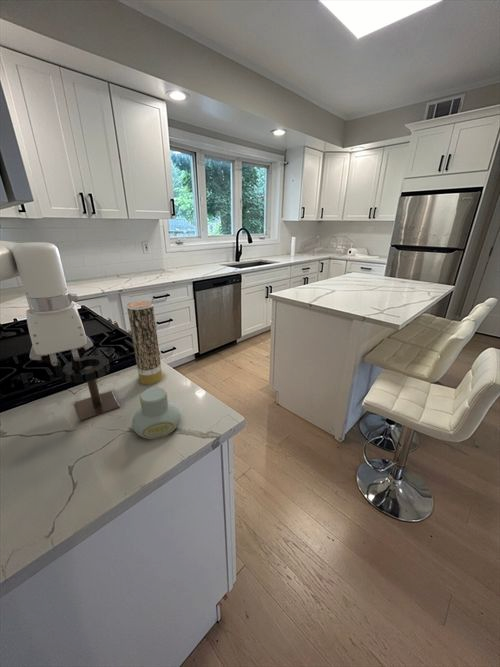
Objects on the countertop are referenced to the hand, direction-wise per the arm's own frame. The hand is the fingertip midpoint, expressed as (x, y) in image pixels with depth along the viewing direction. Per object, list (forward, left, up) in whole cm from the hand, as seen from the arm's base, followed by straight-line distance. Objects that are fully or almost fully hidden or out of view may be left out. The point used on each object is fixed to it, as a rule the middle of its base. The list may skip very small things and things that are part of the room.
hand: (69, 375), depth 67 cm
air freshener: (+14, -17, -12) cm, 25 cm away
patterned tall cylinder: (+20, +5, -12) cm, 24 cm away
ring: (+4, 0, 0) cm, 4 cm away
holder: (+4, 0, -12) cm, 13 cm away
